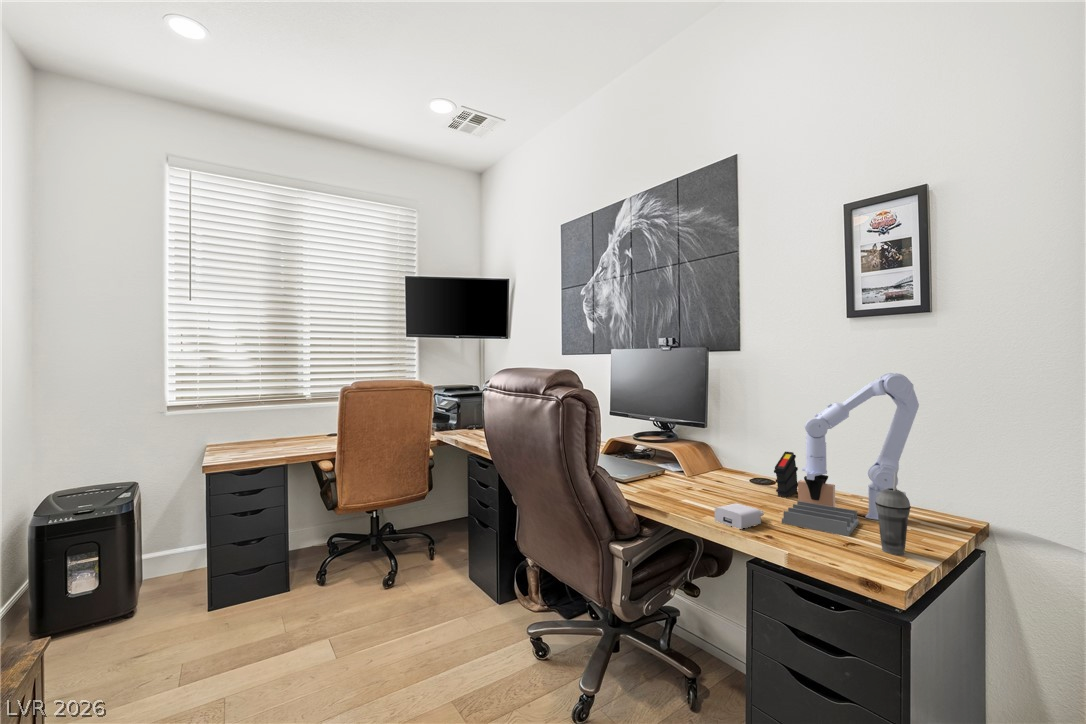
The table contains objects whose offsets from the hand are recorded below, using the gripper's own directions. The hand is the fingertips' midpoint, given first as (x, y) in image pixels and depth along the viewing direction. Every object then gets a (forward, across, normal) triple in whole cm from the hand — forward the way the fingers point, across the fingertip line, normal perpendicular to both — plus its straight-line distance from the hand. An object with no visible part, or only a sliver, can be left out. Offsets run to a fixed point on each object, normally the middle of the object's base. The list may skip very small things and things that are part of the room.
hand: (816, 498), depth 158 cm
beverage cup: (+4, +26, +23) cm, 35 cm away
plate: (+3, 0, 0) cm, 3 cm away
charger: (+4, +26, -13) cm, 30 cm away
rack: (+4, +13, +4) cm, 14 cm away
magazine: (+4, -15, -13) cm, 20 cm away
